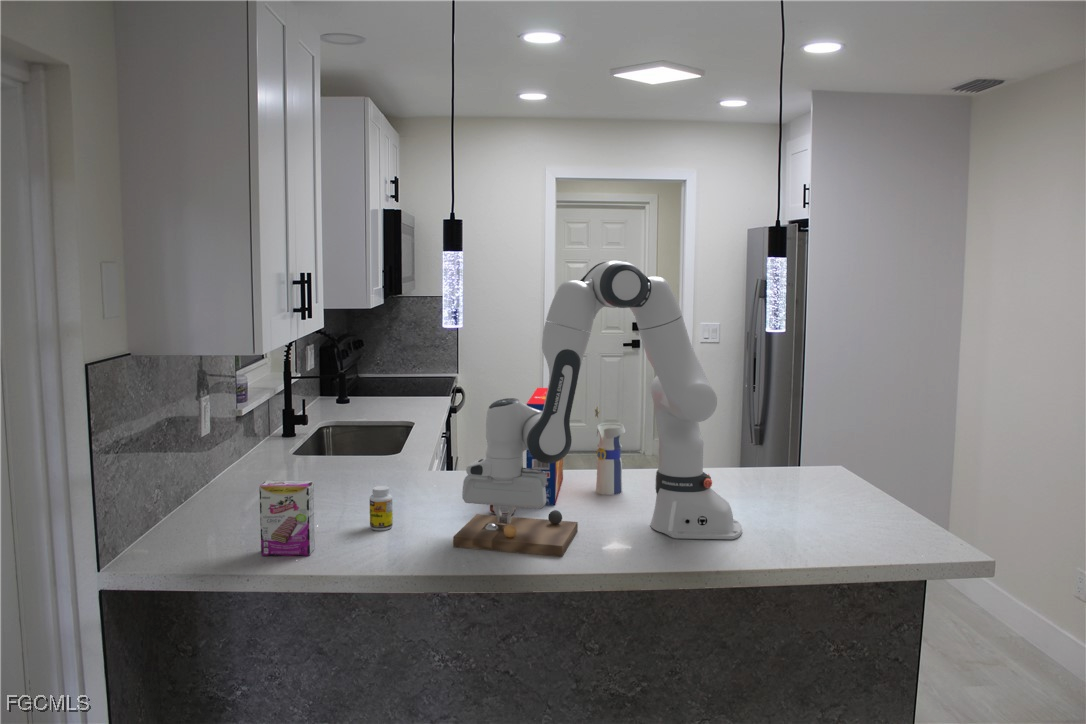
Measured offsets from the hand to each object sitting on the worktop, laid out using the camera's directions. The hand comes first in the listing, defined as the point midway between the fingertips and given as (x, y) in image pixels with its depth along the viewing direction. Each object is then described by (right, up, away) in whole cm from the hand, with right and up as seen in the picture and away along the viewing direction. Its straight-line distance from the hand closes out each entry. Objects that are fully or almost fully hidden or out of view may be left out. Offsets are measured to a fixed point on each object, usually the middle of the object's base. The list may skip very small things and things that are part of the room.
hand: (504, 522), depth 205 cm
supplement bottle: (-31, -3, +8) cm, 32 cm away
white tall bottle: (+29, +1, +42) cm, 50 cm away
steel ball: (-3, -2, +1) cm, 4 cm away
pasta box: (+10, +1, +42) cm, 43 cm away
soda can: (-1, -2, +20) cm, 20 cm away
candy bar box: (-49, -5, -11) cm, 50 cm away
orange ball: (+2, -1, -7) cm, 7 cm away
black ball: (+12, +1, +3) cm, 13 cm away
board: (+3, -4, 0) cm, 5 cm away
